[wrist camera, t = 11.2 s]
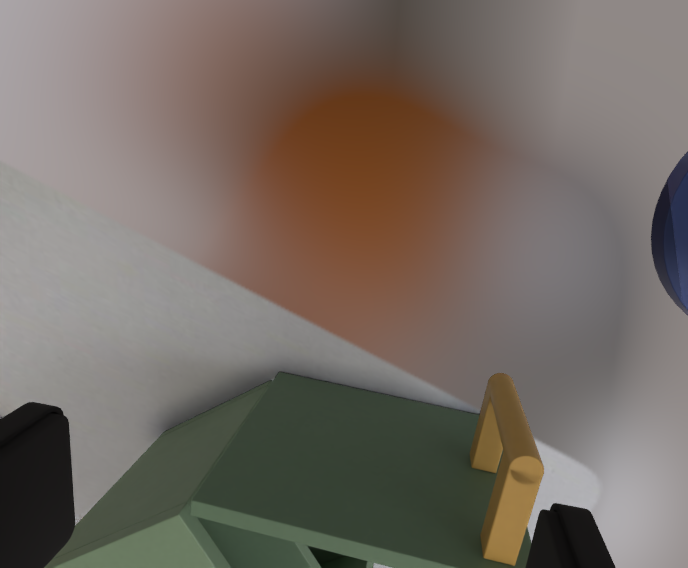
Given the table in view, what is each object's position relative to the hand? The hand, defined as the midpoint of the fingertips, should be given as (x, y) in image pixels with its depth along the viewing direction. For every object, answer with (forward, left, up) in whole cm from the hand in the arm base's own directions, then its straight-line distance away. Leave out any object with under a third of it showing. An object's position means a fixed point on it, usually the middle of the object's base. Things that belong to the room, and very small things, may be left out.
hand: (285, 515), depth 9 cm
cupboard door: (+2, +9, -28) cm, 30 cm away
